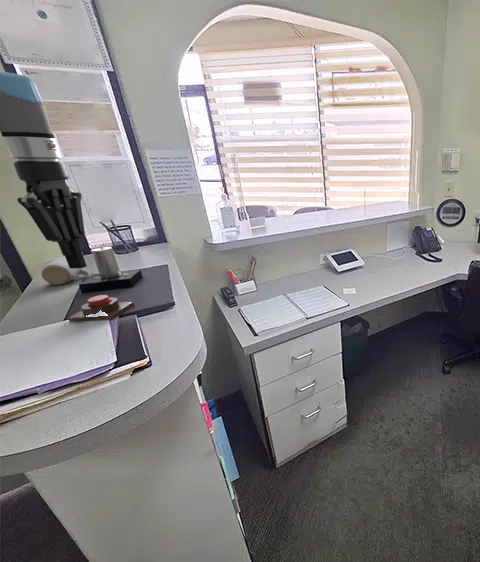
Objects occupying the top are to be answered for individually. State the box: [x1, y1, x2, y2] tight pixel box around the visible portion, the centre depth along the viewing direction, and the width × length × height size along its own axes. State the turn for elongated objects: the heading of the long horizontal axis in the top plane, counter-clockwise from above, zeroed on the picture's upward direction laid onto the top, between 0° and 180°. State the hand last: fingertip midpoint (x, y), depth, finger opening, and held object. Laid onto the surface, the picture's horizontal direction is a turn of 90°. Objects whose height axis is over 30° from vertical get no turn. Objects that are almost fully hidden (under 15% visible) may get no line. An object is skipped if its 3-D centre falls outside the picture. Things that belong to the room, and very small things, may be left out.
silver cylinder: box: [90, 245, 121, 279], centre depth 97 cm, size 5×5×9 cm
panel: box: [78, 268, 144, 294], centre depth 99 cm, size 13×10×3 cm
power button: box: [86, 294, 110, 307], centre depth 77 cm, size 4×4×2 cm
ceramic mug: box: [41, 256, 92, 286], centre depth 103 cm, size 11×8×8 cm
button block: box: [67, 296, 136, 323], centre depth 78 cm, size 10×8×4 cm
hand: (78, 267), depth 73 cm, fingers closed
